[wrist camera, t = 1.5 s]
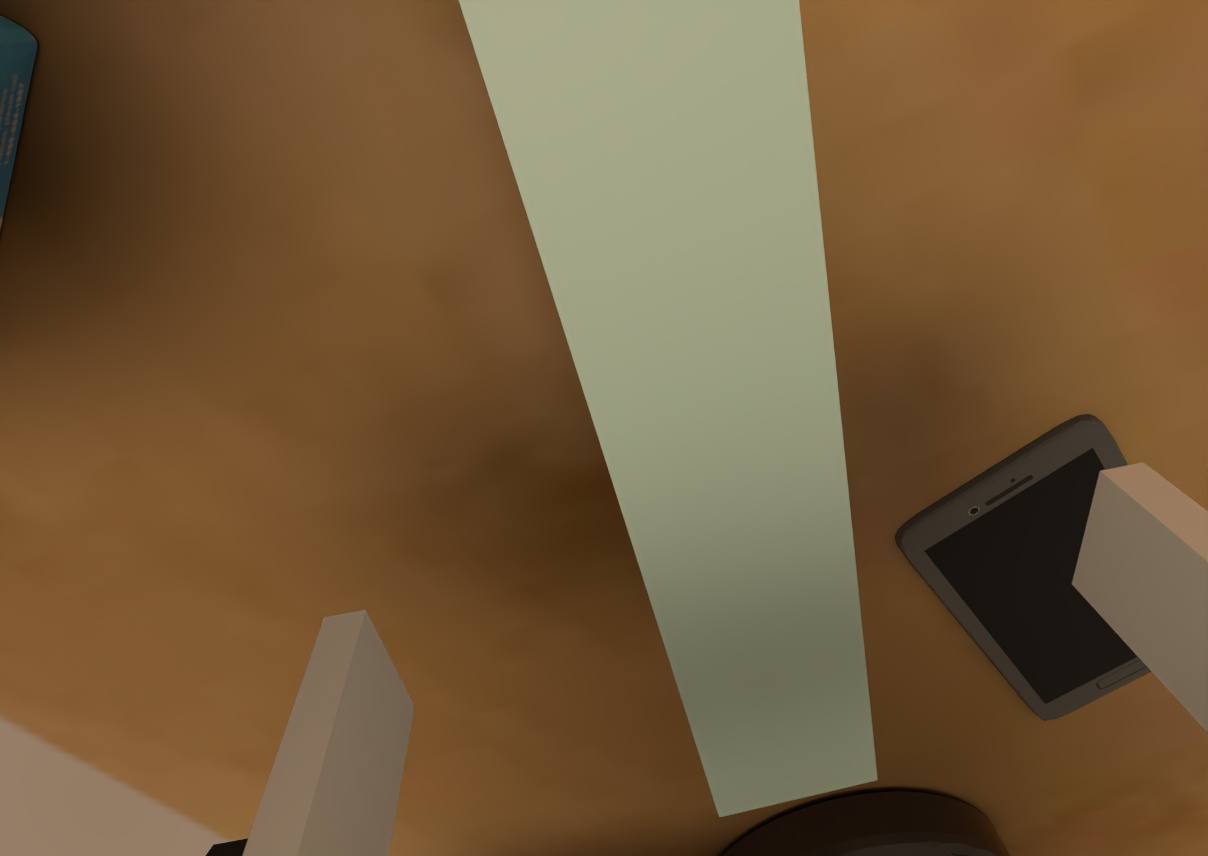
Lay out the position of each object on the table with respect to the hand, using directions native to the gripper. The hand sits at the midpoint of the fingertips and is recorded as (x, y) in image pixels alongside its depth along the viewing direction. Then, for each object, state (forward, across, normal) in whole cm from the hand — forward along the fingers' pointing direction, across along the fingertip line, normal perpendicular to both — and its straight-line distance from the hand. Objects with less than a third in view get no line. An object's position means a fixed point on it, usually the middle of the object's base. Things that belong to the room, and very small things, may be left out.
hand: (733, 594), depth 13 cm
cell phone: (+9, -13, +12) cm, 20 cm away
